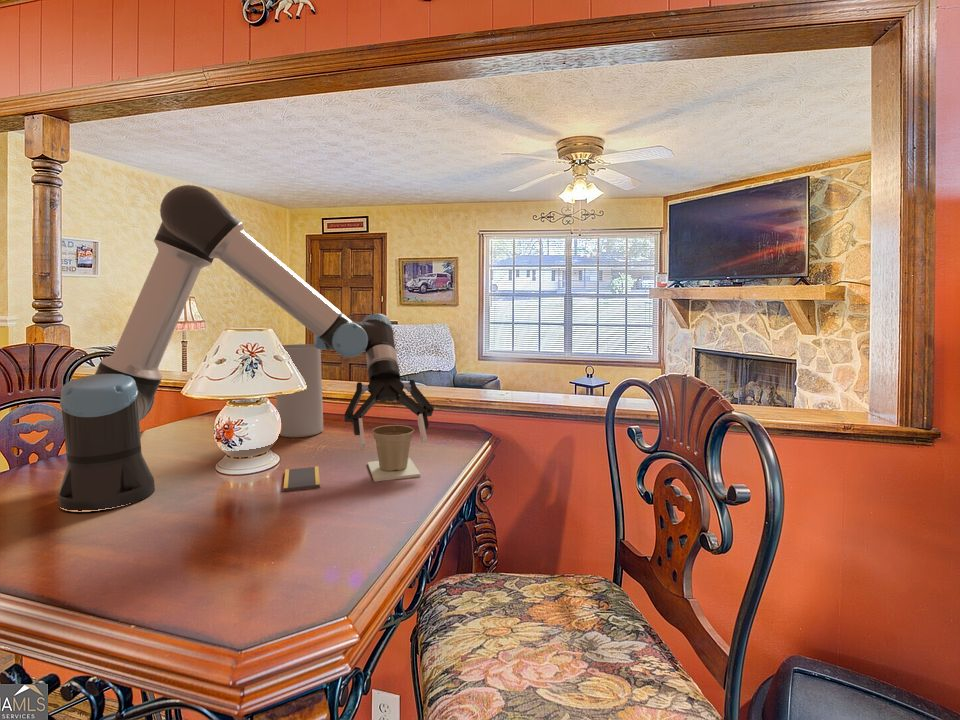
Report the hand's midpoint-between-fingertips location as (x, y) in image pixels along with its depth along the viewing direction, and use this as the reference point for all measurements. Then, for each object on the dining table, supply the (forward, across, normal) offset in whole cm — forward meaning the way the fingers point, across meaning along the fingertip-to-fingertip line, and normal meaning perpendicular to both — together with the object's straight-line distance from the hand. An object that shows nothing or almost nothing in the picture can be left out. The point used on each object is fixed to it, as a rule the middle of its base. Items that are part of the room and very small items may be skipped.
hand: (394, 444), depth 114 cm
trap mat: (+3, +20, -6) cm, 21 cm away
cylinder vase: (-26, +20, -36) cm, 48 cm away
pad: (+3, 0, -6) cm, 7 cm away
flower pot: (+3, 0, -6) cm, 7 cm away
